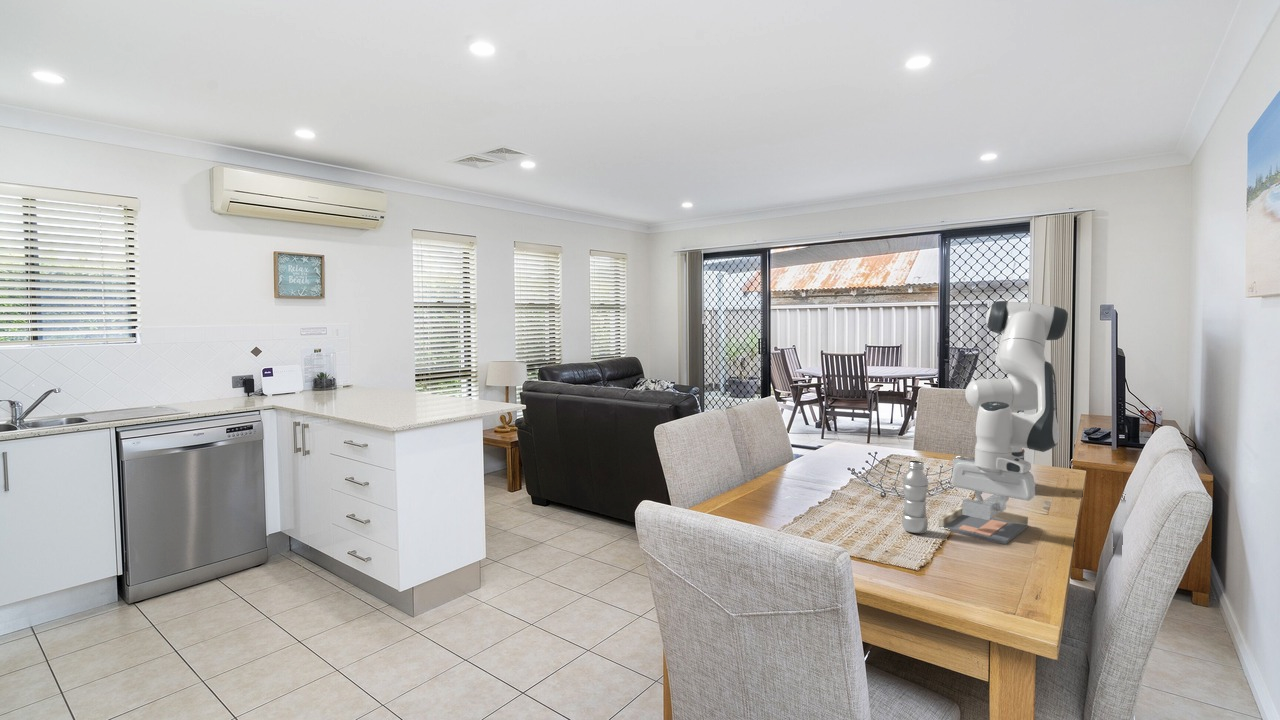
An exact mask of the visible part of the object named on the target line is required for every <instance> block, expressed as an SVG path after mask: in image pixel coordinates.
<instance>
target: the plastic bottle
mask: <svg viewBox="0 0 1280 720" xmlns="http://www.w3.org/2000/svg"><path fill="white" fill-rule="evenodd" d="M907 468H908V469H909V470H908V471H906V473H905V474H904V476H903V477H902V484H903V492H904V493H903V494H904V497H903V498H904V506H903V513H902V514H903V515H902V516H901V517H902V518H901V525H902V528H903V530H905V531H907V532H908V533H913V534H925V533H926V532H927V530H928V528H929V527H928V526H929V523H928V517H927V507H926V506H927V494H928V488H929V479H928V477H927V475H926V474H925V472H924V471H923V470H924V469H925V468H924V462H923V461H920V460H909V461H908V467H907Z"/></svg>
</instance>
